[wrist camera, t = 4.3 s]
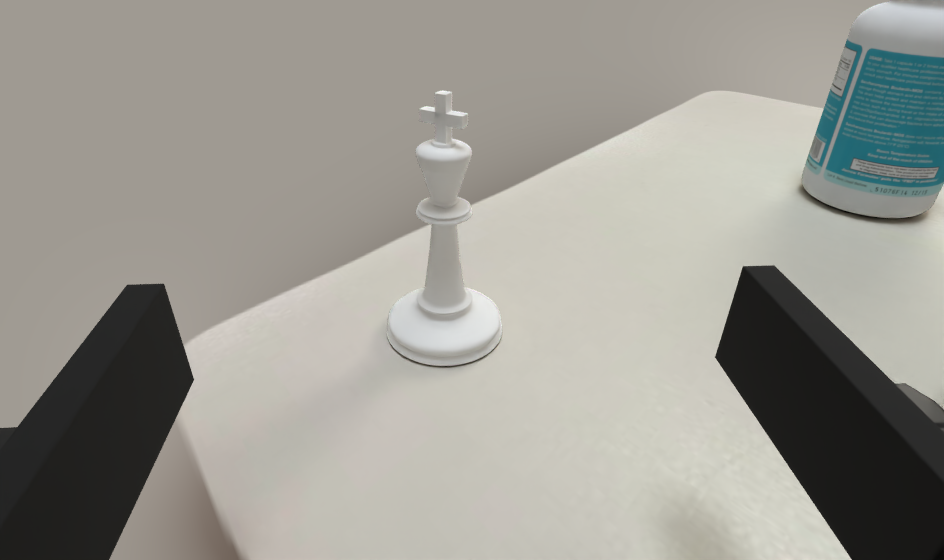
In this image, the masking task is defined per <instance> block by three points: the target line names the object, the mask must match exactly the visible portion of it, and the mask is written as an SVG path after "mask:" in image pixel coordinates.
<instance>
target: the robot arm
mask: <svg viewBox="0 0 944 560" xmlns="http://www.w3.org/2000/svg"><path fill="white" fill-rule="evenodd" d="M715 358H716V359H717V361H718V362H719V364H720V365H721V367H722V368H723V370H724V371H725V373H726V374H727V376H728V377H729V379H730V380H731V382H732V383H733V384H734V386H735V387H736V389H737V390H738V392H739V393H740V395H741V396H742V398H743V399H744V401H745V402H746V404H747V405H748V407H749V408H750V410H751V411H752V413H753V414H754V416H755V417H756V418H757V420H758V421H759V423H760V424H761V426H762V427H763V429H764V430H765V432H766V433H767V435H768V436H769V438H770V439H771V441H772V442H773V444H774V445H775V447H776V448H777V450H778V451H779V452H780V454H781V455H782V457H783V458H784V460H785V461H786V463H787V464H788V466H789V467H790V469H791V470H792V472H793V473H794V475H795V476H796V478H797V479H798V481H799V482H800V484H801V485H802V486H803V488H804V489H805V491H806V492H807V494H808V495H809V497H810V498H811V500H812V501H813V503H814V504H815V506H816V507H817V509H818V510H819V512H820V513H821V515H822V516H823V518H824V519H825V521H826V522H827V523H828V525H829V526H830V528H831V529H832V531H833V532H834V534H835V535H836V537H837V538H838V540H839V541H840V543H841V544H842V546H843V547H844V549H845V550H846V552H847V553H848V555H849V556H850V557H851V559H852V560H944V410H943V409H942V408H941V407H940V406H939V405H938V404H937V403H936V402H935V401H933V400H932V399H930V398H928V397H927V396H925V395H923V394H922V393H920V392H919V391H917V390H915V389H914V388H912V387H910V386H909V385H907V384H905V383H902V384H894V383H893V382H892V381H891V380H890V379H889V378H888V377H887V376H886V375H885V374H884V373H883V372H882V371H881V370H880V369H879V368H878V367H877V366H876V365H875V364H874V363H873V362H872V361H871V360H870V359H869V358H868V357H867V356H866V355H865V354H864V353H863V352H862V351H861V350H860V349H859V348H858V347H857V346H856V345H855V344H854V343H853V342H852V341H851V340H850V339H849V338H848V337H847V336H846V335H845V334H843V333H842V332H841V331H840V330H839V329H838V328H837V327H836V326H835V325H834V324H833V323H832V322H831V321H830V320H829V319H828V318H827V317H826V316H825V315H824V314H823V313H822V312H821V311H820V310H819V309H818V308H817V307H816V306H815V305H814V304H813V303H812V302H811V301H810V300H809V299H808V298H807V297H806V296H805V295H804V294H803V293H802V292H801V291H800V290H799V289H798V288H797V287H796V286H795V285H794V284H793V283H791V282H790V281H789V280H788V279H787V278H786V277H785V276H784V275H783V274H782V273H781V272H780V271H779V270H778V269H777V268H776V267H775V266H743V268H742V272H741V275H740V278H739V281H738V285H737V288H736V291H735V294H734V298H733V301H732V304H731V307H730V311H729V314H728V317H727V320H726V324H725V327H724V330H723V334H722V337H721V340H720V343H719V347H718V350H717V353H716V356H715ZM193 381H194V378H193V375H192V372H191V368H190V365H189V362H188V359H187V356H186V352H185V349H184V346H183V343H182V340H181V337H180V333H179V330H178V327H177V324H176V321H175V317H174V314H173V312H172V308H171V305H170V302H169V298H168V295H167V292H166V289H165V286H164V284H143V285H141V284H140V285H127V286H126V287H125V288H124V290H123V291H122V292H121V294H120V295H119V296H118V297H117V299H116V300H115V301H114V303H113V304H112V305H111V307H110V308H109V309H108V311H107V312H106V313H105V314H104V316H103V317H102V318H101V320H100V321H99V322H98V323H97V325H96V326H95V327H94V329H93V330H92V331H91V332H90V334H89V335H88V336H87V338H86V339H85V340H84V342H83V343H82V344H81V345H80V347H79V348H78V349H77V351H76V352H75V353H74V354H73V356H72V357H71V358H70V360H69V361H68V363H67V364H66V365H65V366H64V367H63V369H62V370H61V372H60V373H59V374H58V375H57V377H56V378H55V379H54V380H53V382H52V383H51V384H50V386H49V387H48V388H47V390H46V391H45V392H44V393H43V395H42V396H41V397H40V399H39V400H38V401H37V402H36V404H35V405H34V406H33V408H32V409H31V410H30V412H29V413H28V414H27V416H26V417H25V418H24V419H23V421H22V422H21V423H20V425H19V426H18V427H16V428H15V427H14V428H0V560H109V559H110V556H111V554H112V552H113V550H114V548H115V546H116V544H117V542H118V540H119V537H120V535H121V533H122V531H123V529H124V527H125V525H126V523H127V520H128V518H129V516H130V514H131V512H132V510H133V508H134V506H135V504H136V501H137V499H138V497H139V495H140V492H141V491H142V489H143V486H144V485H145V482H146V480H147V478H148V476H149V474H150V472H151V469H152V467H153V465H154V463H155V461H156V459H157V457H158V455H159V453H160V451H161V448H162V446H163V444H164V442H165V440H166V438H167V436H168V433H169V431H170V429H171V427H172V425H173V423H174V421H175V419H176V417H177V415H178V412H179V410H180V408H181V406H182V404H183V402H184V400H185V398H186V396H187V393H188V391H189V389H190V387H191V385H192V383H193Z"/></svg>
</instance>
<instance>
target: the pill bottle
mask: <svg viewBox="0 0 944 560" xmlns="http://www.w3.org/2000/svg"><path fill="white" fill-rule="evenodd" d="M802 184H803V186H804V188H805V189H806V191H807V192H808V193H809V194H810V195H812V196H813V197H815V198H816V199H818V200H820V201H821V202H823V203H825V204H828V205H830V206H833V207H835V208H838V209H841V210H844V211H848V212H852V213H856V214H861V215H866V216H872V217H881V218H905V217H912V216H916V215H919V214H922V213H924V212H926V211H927V210H929V209H930V208H931V206H932V205H933V204H934V202H935V200H936V198H937V196H938V194H939V192H940V190H941V188H942V186H943V184H944V0H890V1H888V2H885V3H880V4H877V5H875V6H872V7H870V8H868V9H867V10H865V11H864V12H862V13H861V14H860V15H859V16H858V17H857V18H856V20H855V21H854V23H853V25H852V27H851V29H850V32H849V35H848V38H847V41H846V44H845V47H844V50H843V53H842V56H841V59H840V62H839V65H838V68H837V71H836V74H835V77H834V80H833V83H832V86H831V89H830V92H829V95H828V98H827V101H826V104H825V107H824V110H823V113H822V116H821V119H820V122H819V125H818V128H817V131H816V134H815V137H814V140H813V143H812V146H811V149H810V152H809V155H808V158H807V161H806V164H805V167H804V170H803V174H802Z"/></svg>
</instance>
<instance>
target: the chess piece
mask: <svg viewBox="0 0 944 560" xmlns="http://www.w3.org/2000/svg"><path fill="white" fill-rule="evenodd" d="M419 120H420V122H425V123H431V124H435V139H431V140H427V141H425V142H423V143H421V144H420V145H419V146H418V147H417V149H416V157H417V160H418V163H419V166H420V168H421V170H422V172H423V175H424V178H425V182H426V185H427V188H428V190H429V193H430V195H431V196H430V197H428V198H426V199H423V200H422V201H420V202H419V204H418V206H417V210H416V215H417V217H418V218H419V219H420V220H422V221H424V222H426V223H429V224H432V228H431V239H430V250H429V259H428V267H427V275H426V282H425V287H424V288H420V289H417V290H414V291H412V292H410V293H408V294H406V295H404V296H403V297H402V298H400V299H399V300H398V301H397V302H396V303H395V304H394V305H393V307H392V308H391V310H390V312H389V316H388V326H387V336H388V339H389V341H390V343H391V345H392V346H393V347H394V348H395V350H397V351H398V352H399V353H400V354H402V355H403V356H405V357H407V358H409V359H411V360H413V361H416V362H419V363H423V364H428V365H435V366H453V365H460V364H465V363H469V362H472V361H475V360H477V359H479V358H481V357H483V356H485V355H487V354H488V353H489V352H491V351H492V350H493V349H494V348H495V347H496V346H497V344H498V343H499V341H500V339H501V336H502V324H501V315H500V312H499V309H498V308H497V306H496V305H495V303H494V302H493V301H492V300H491V299H490V298H488V297H487V296H485V295H484V294H482V293H480V292H478V291H476V290H473V289H470V288H466V287H464V282H463V276H462V268H461V261H460V253H459V244H458V233H457V224H460V223H462V222H465V221H467V220H468V219H469V218H470V217H471V216H472V209H471V205H470V203H469V202H468V201H466V200H465V199H463V198H460V197H458V196H457V195H458V193H459V190H460V188H461V185H462V182H463V178H464V175H465V172H466V169H467V167H468V165H469V163H470V159H471V156H472V150H471V148H470V147H469V145H467V144H466V143H464V142H462V141H460V140H456V139H453V138H452V128H458V129H463V128H465V127H466V126H468V113H463V112H458V111H452V92H448V91H442V90H441V91H439V92H436V93H435V107H429V106H425V107H422V108H420V109H419Z"/></svg>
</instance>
